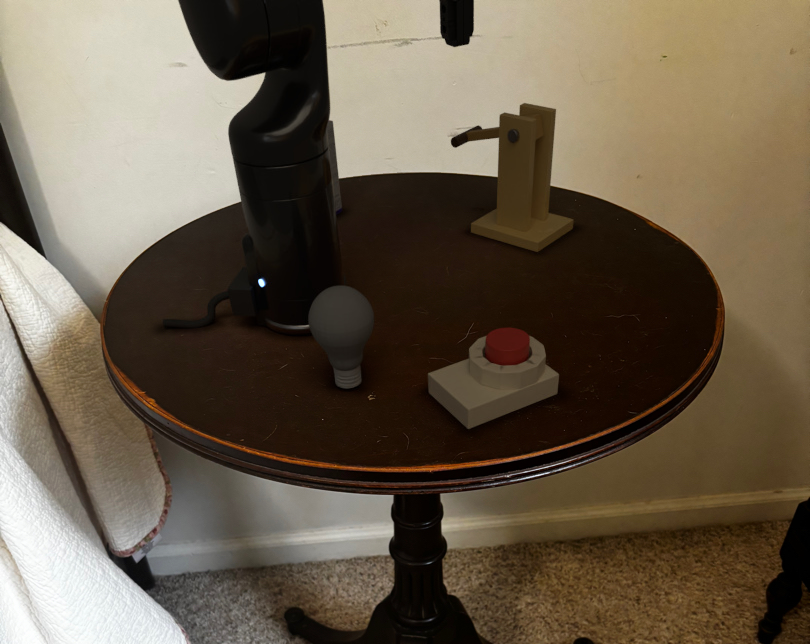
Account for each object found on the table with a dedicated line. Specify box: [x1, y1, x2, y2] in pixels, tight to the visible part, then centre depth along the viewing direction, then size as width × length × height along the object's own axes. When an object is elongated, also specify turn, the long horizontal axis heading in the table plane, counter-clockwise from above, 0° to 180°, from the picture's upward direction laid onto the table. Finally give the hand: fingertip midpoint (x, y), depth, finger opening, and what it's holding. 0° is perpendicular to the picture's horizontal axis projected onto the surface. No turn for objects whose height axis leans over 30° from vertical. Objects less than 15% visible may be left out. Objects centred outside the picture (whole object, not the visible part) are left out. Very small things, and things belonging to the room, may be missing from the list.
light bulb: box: [308, 285, 375, 389], centre depth 74 cm, size 6×6×10 cm
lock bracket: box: [470, 102, 575, 253], centre depth 96 cm, size 10×8×14 cm
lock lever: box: [450, 114, 544, 149], centre depth 95 cm, size 11×5×2 cm, turn 50°
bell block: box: [427, 335, 560, 430], centre depth 74 cm, size 10×7×4 cm
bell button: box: [485, 327, 530, 366], centre depth 73 cm, size 4×4×2 cm
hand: (456, 44), depth 75 cm, fingers closed
